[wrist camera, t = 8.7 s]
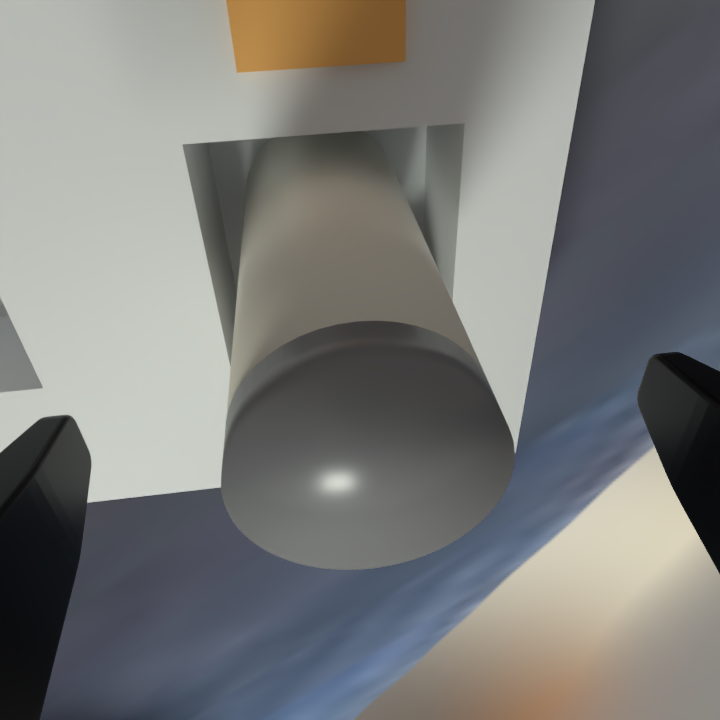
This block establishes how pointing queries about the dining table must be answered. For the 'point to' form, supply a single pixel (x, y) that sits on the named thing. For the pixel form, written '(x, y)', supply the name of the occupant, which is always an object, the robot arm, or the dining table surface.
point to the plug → (351, 370)
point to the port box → (228, 191)
